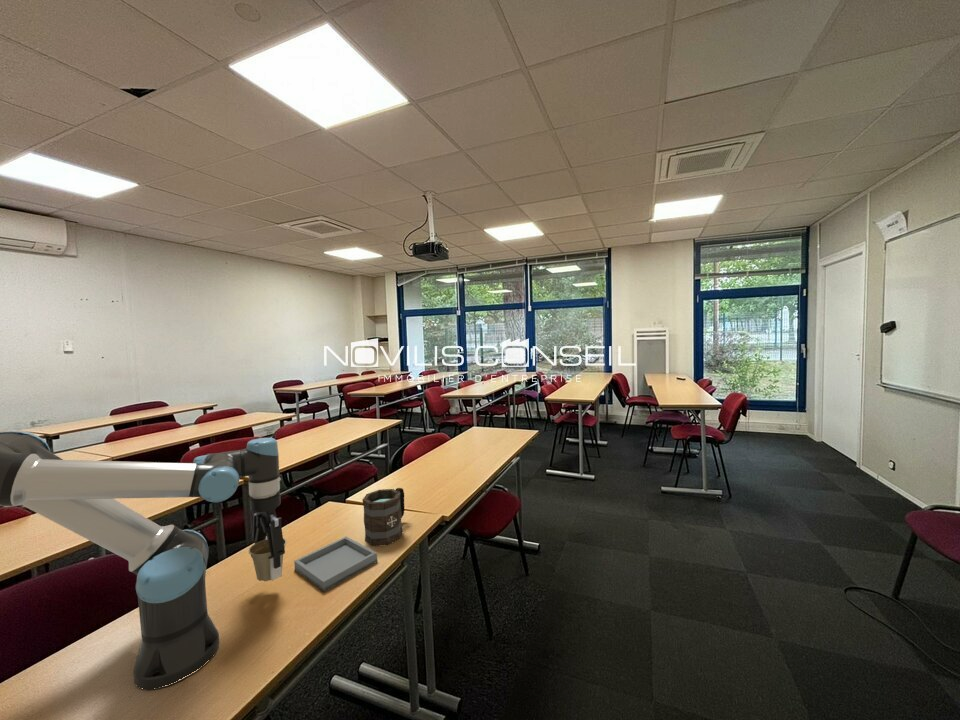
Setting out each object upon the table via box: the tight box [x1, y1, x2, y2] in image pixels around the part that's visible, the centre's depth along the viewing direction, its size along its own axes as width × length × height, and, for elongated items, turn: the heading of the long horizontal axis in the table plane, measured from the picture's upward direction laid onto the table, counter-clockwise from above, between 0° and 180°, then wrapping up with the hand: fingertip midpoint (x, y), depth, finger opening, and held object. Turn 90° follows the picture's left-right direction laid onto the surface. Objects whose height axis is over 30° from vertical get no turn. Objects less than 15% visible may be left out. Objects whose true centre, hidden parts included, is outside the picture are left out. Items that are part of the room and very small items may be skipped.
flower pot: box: [248, 537, 288, 582], centre depth 107 cm, size 9×9×9 cm
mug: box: [361, 487, 405, 547], centre depth 140 cm, size 20×14×15 cm
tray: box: [293, 536, 378, 593], centre depth 120 cm, size 18×18×3 cm
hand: (269, 571), depth 107 cm, fingers closed on flower pot, 9 cm apart
